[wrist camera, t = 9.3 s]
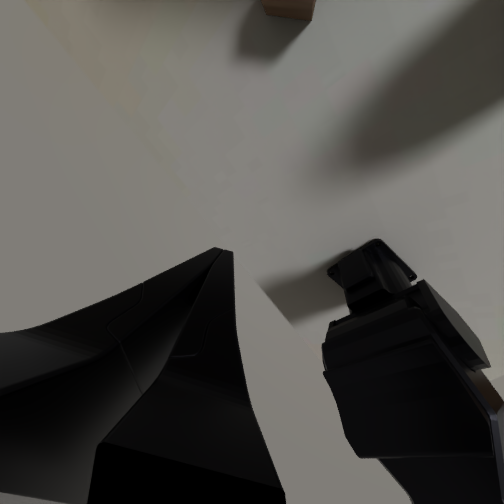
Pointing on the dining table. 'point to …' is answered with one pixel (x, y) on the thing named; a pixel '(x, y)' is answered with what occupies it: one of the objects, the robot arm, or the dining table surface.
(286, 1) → the wooden box with handle
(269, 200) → the dining table surface
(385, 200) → the dining table surface
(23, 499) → the robot arm
